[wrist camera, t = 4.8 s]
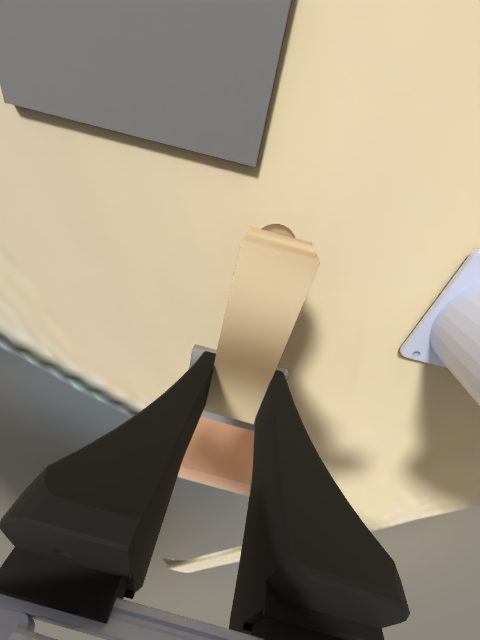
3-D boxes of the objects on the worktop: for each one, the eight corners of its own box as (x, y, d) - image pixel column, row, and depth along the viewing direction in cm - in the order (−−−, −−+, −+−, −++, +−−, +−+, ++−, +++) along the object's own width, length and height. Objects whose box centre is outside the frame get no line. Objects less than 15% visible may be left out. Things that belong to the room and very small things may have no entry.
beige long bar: (216, 207, 11) (181, 226, 7) (346, 242, 11) (379, 278, 7) (185, 405, 18) (161, 464, 15) (262, 426, 18) (257, 491, 15)
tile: (262, 407, 24) (256, 486, 18) (257, 419, 25) (249, 498, 19) (192, 388, 24) (163, 461, 18) (190, 401, 25) (162, 474, 19)
